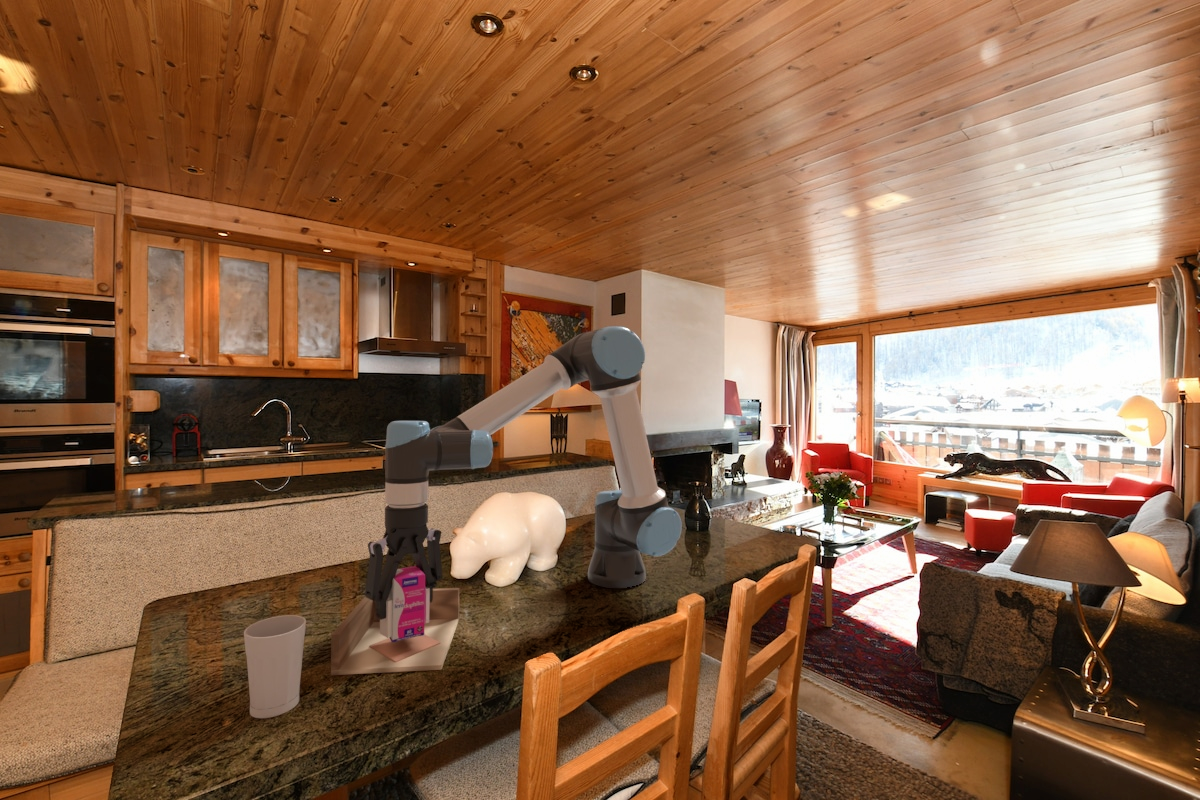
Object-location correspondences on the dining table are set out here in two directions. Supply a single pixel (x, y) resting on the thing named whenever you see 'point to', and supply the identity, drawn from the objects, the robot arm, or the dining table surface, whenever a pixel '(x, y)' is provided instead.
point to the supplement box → (408, 603)
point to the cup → (274, 664)
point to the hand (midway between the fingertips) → (405, 627)
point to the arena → (372, 652)
